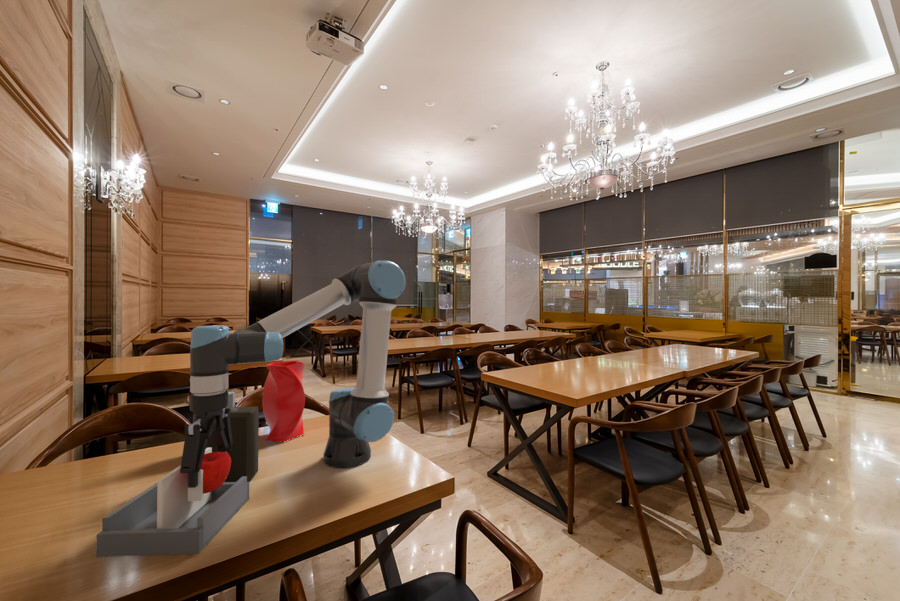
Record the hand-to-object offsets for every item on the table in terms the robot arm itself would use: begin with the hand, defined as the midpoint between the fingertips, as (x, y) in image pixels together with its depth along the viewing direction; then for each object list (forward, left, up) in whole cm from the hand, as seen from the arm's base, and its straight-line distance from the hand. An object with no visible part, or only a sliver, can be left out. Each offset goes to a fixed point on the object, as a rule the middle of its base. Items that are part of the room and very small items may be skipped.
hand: (208, 488), depth 85 cm
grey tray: (+6, 0, -8) cm, 10 cm away
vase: (+4, -57, -8) cm, 58 cm away
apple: (0, 0, 0) cm, 0 cm away
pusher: (+7, 0, -7) cm, 10 cm away
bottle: (+8, -22, -8) cm, 25 cm away
